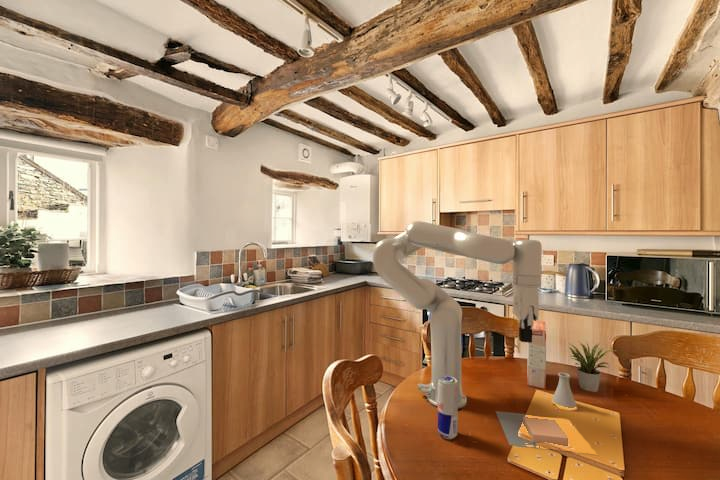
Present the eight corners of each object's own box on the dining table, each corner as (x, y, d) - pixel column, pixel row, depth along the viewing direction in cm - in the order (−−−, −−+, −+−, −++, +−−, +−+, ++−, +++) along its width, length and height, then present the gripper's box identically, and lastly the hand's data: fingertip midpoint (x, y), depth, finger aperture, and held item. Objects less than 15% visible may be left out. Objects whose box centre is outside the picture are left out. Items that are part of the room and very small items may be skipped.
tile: (523, 425, 87) (533, 443, 80) (523, 417, 87) (533, 434, 80) (554, 428, 86) (568, 447, 78) (554, 420, 86) (567, 438, 78)
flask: (583, 413, 94) (582, 380, 94) (556, 411, 95) (556, 378, 95) (571, 401, 101) (571, 370, 101) (547, 399, 102) (546, 368, 102)
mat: (509, 446, 79) (509, 444, 79) (495, 412, 95) (495, 411, 95) (599, 457, 75) (599, 455, 75) (568, 419, 91) (568, 418, 91)
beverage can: (442, 426, 88) (442, 373, 88) (460, 433, 84) (460, 378, 84) (434, 435, 84) (434, 379, 84) (452, 443, 80) (452, 385, 80)
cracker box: (546, 390, 109) (546, 330, 109) (527, 386, 112) (526, 327, 112) (546, 375, 121) (545, 321, 121) (528, 371, 124) (528, 319, 124)
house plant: (613, 384, 113) (613, 339, 113) (624, 402, 100) (623, 351, 100) (566, 376, 119) (566, 333, 119) (571, 392, 107) (570, 344, 107)
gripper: (507, 277, 102) (506, 333, 102) (519, 283, 88) (518, 348, 88) (532, 278, 101) (531, 335, 101) (549, 284, 86) (548, 351, 86)
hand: (525, 341), depth 94 cm, fingers closed
